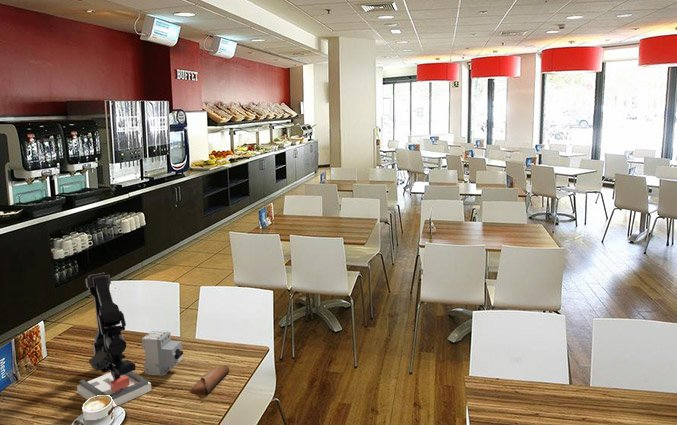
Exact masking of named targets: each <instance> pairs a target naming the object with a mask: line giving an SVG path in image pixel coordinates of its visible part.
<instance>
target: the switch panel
mask: <svg viewBox="0 0 677 425" xmlns="http://www.w3.org/2000/svg"><path fill="white" fill-rule="evenodd" d="M123 376H125V374H124V375H121V377H123ZM126 376H127V375H126ZM128 377H129V376H128ZM113 380H114V379H113V377H112V375H111V372H110V371H109V372H108V373H106V374H103V375H101V376H98V377H96V378H93V379H91V380H88V381H87V382H88V383H90V384H91V385H93V386H94V387H96V388H97V389H99V390H100V391H102V392H104V393H105V394H107V395H111V394H113V393H115V392H117V391H119V390H117V391H112V390H111V386H110V382H111V381H113ZM129 382H130V385H128V386H126V387H124V388H127V387H129V386H131V385H134V384H136V383H138V382H137V381H136V380H134V379H132V378H130V377H129ZM76 387H77V388H76V389H77V394H79V395H80V396H81V397H83V398H84V399H85V400H87V399H89V398H91V397H94V396H96V395H94V394H93V393H91V392H90V391H88V390H87V389H85V388H84V387H82V386H81V385H80V384H78V385H76ZM124 388H123V389H124ZM152 390H153V389H152V383H151V382H150V381H148V385H145V386H143V387H141V388H139V389H136V390H134V391H132V392H130V393H127V394H125V395H123V396H121V397H118V398H116V399H114V400H113V401H114V402H115V404H116V405H119V406H121V405H124V404H125V403H127V402H129V401H131V400H134V399H136V398H139V397H140V396H142V395H145V394H146V393H149V392H152Z"/></svg>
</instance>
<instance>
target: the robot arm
mask: <svg viewBox="0 0 677 425" xmlns="http://www.w3.org/2000/svg"><path fill="white" fill-rule="evenodd" d="M85 285H86V288H87V289H88V291H89V293H90V294H91V295H92V296H93V301H94V307H95V308H94V309H95V310H94V311H95V316H96V325H97V332H96V334H95V336H94V343H92V344H93V346H92V350H93V356H92V357H91V358H90V359H88V363H89V364H90V366H91V368H92V369H93V370H95V371H96V372H98V371H100V372H102V373H105V372H107V371H109V373H110V372H111V375H112V377H113V379H114V380H116V379H118V378H120V377H121V375H124V374H126V373H129V372H131V371H132V372H133V371H135V370H136V369H137V367H136V363H134V362H133V361H131V360H129V359H126V355H125V354H124V352H125V350H126V349H127V343H126V340H125V338H124V336H123V335H122V331H126V326H127V325H126V320H125V315H124V313H123V311H122V310H120V308H119V306H118V304H116V303H115V302H114V301H113V298H112V293H111V289H110V286H109V285H112V280H111V275H110V274H107V273H106V272H102V273H101V272H99V273H95V274H90V275H88V276H87V278H85ZM120 324H121V325H120Z"/></svg>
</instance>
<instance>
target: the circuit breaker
mask: <svg viewBox="0 0 677 425" xmlns="http://www.w3.org/2000/svg"><path fill="white" fill-rule="evenodd" d="M141 340H142V342H141V348H142V349H143V350H144V355H145V356H144V357H145V362H144V363H143V368H144V372H145V373H144V374H145V375H152V376H163V377H164V376H165V375H166V374H168V372H169V371H170V370H172V368H175V367H176V366H177V364H179V363H180V362H181V361H182V360H183V358H184V357H183V354H184V351H183V347H182V341H179V340H172V338H171V331H162V330H161V331H159V330H151V331H150V332H149V333H147V334H146V335H145V336H143V337H142V338H141Z"/></svg>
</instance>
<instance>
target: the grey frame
mask: <svg viewBox="0 0 677 425" xmlns="http://www.w3.org/2000/svg"><path fill="white" fill-rule="evenodd" d="M125 375H127V376H129V377H130V378H132V379H134V380H136V381H137V382H138V383H136V384H134V385H131V386H129V387H127V388H124V389H122V390H120V391H117V392H115V393H113V394H111V395H110V396H111V397H112V399H113V400H114V399H116V398H118V397H121V396H123V395H125V394H127V393H130V392H132V391H134V390H136V389H139V388H141V387H143V386H145V385H148V382H149V380H148V379H147V378H144V377H142V376H141V375H140V374H138V373H135V372H133V371H131V372H129V373H126V374H125ZM78 383H79V385H81V386H82V387H84V388H85V389H87V390H88V391H90V392H91V393H93V394H94V395H96V396H97V395H107V394H105V393H104V392H102V391H100V390H99V389H97V388H96V387H94V386H93V385H91V384H90V383H88V381H87V380H85V379H81V380H79V382H78Z"/></svg>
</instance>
